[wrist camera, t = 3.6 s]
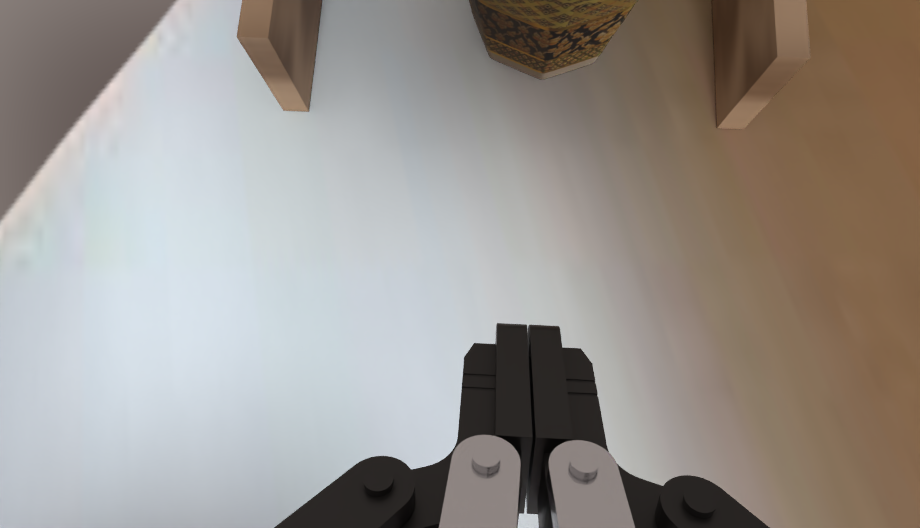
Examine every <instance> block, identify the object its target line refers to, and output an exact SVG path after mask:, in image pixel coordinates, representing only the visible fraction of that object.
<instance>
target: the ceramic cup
mask: <svg viewBox="0 0 920 528" xmlns="http://www.w3.org/2000/svg"><path fill="white" fill-rule="evenodd" d="M637 1H638V0H469V2H470V6H471V10H472V14H473V16H474V19H475V22H476V24H477V27H478V29H479V32H480V34H481V37H482V39H483V42H484V45H485V47H486V50H487V52H488V54H489V56H490V58H492V59H493V60H496V61H498V62H500V63H502V64H505V65H507V66H509V67H512V68H514V69H517V70H519V71H521V72H524V73H526V74H528V75H531V76H533V77H536V78H538V79H546V78H550V77H553V76H556V75H559V74H562V73H565V72H568V71H571V70H574V69H578V68H581V67H584V66H587V65H589V64H592V63H594V62H595V61H596V59H597V58H598V56H599V55H600V54H601V53H602V51H603V50H604V48H605V47H606V45H607V44H608V42H609V40H610V39H611V38H612V36H613V35H614V33H615V32H616V31H617V29H618V28H619V26H620V25H621V24H622V22H623V21H624V19H625V18H626V17H627V15H628V14H629V12H630V11H631V9H632V8H633V6H634V5H635V3H636V2H637Z"/></svg>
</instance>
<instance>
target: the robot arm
mask: <svg viewBox="0 0 920 528" xmlns="http://www.w3.org/2000/svg"><path fill="white" fill-rule="evenodd" d="M525 498H526V502H527V514H538V520H539V528H769V527H768V526H767V525H765V524H764V523H763V522H762V521H761V520H759V519H758V518H757V517H756V516H754V515H753V514H752V513H751V512H749V511H748V510H747V509H746V508H745V507H743V506H742V505H741V504H740V503H738V502H737V501H736V500H735V499H733V498H732V497H731V496H730V495H729V494H727V493H726V492H725V491H724V490H722V489H721V488H720V487H718V486H717V485H716V484H714V483H712V482H710V481H708V480H706V479H703V478H700V477H696V476H678V477H675V478H672V479H670V480H669V481H668V482H666V483H665V485H664V486H661V485H658V484H655V483H652V482H649V481H646V480H643V479H640V478H638V477H635V476H633V475H631V474H629V473H628V472H626V471H625V470H623V469H622V468H621V467H620V466H619V465H618V464H617V463H616V461H615V459H614V458H613V457H612V455H611V454H610V453H609V451H608V449H607V445H606V439H605V434H604V428H603V422H602V417H601V411H600V405H599V400H598V397H597V389H596V384H595V377H594V372H593V366H592V363H591V362H590V360H589V359H588V358H587V356H586V355H585V354H584V352H583V351H582V350H581V349H578V348H562V343H561V334H560V328H559V326H544V325H529V326H528V333H527V325H521V324H502V323H497V327H496V342H495V344H480V343H474V344H473V346H472V347H471V349H470V350H469V351H468V353H467V354H466V356H465V357H464V368H463V381H462V393H461V406H460V418H459V430H458V439H457V443H456V446H455V447H454V449H453V451H452V452H451V453H450V454H449V455H448V456H447V457H446V458H444V459H443V460H441V461H440V462H438V463H435V464H433V465H430V466H426V467H422V468H417V469H413V470H411V469H410V468H409V467H408V466H407V465H406V464H405V463H404V462H402V461H401V460H398V459H396V458H393V457H388V456H376V457H371V458H368V459H365V460H363V461H361V462H359V463H358V464H356V465H355V466H353V467H352V468H351V469H349V470H348V471H347V472H346V473H344V474H343V475H342V476H340V477H339V478H338V479H337V480H335V481H334V482H333V483H331V484H330V485H329V486H327V487H326V488H325V489H324V490H322V491H321V492H320V493H318V494H317V495H316V496H315V497H313V498H312V499H311V500H309V501H308V502H307V503H306V504H304V505H303V506H302V507H300V508H299V509H298V510H296V511H295V512H294V513H293V514H291V515H290V516H289V517H287V518H286V519H285V520H284V521H282V522H281V523H280V524H278V525H277V526H276V527H274V528H517V526H518V517H519V513H524V507H525Z"/></svg>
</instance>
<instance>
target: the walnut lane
mask: <svg viewBox="0 0 920 528" xmlns="http://www.w3.org/2000/svg"><path fill="white" fill-rule="evenodd" d="M321 6H322V0H242V6H241V12H240V19H239V25H238V32H237V38H238V40H239V41H240V43H241V44H242V46H243V47H244V49H245V51H246V52H247V54H248V55H249V57H250V58H251V60H252V62H253V63H254V65H255V66H256V68H257V69H258V71H259V73H260V74H261V76H262V77H263V79H264V80H265V82H266V84H267V85H268V87H269V88H270V90H271V91H272V93H273V95H274V96H275V98H276V99H277V101H278V102H279V104H280V106H281V107H282V109H283V110H284V111H308V112H309V105H310V97H311V89H312V81H313V72H314V64H315V56H316V48H317V39H318V31H319V23H320V15H321ZM712 15H713V40H714V65H715V91H716V116H717V128H725V129H744V128H745V127H746V126H747V125H748V124H749V123H750V122H751V121H752V120H753V119H754V117H755V116H756V115H757V114H758V113H759V112H760V111H761V110H762V109H763V108H764V107H765V106H766V105H767V104H768V103H769V102H770V100H771V99H772V98H773V97H774V96H775V95H776V94H777V93H778V92H779V91H780V90H781V89H782V88H783V87H784V86H785V85H786V83H787V82H788V81H789V80H790V79H791V78H792V77H793V76H794V75H795V74H796V73H797V72H798V71H799V70H800V69H801V68H802V66H803V65H804V64H805V63H806V62H807V61H808V60H809V59H810V58H811V55H810V42H809V30H808V17H807V4H806V0H712Z"/></svg>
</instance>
